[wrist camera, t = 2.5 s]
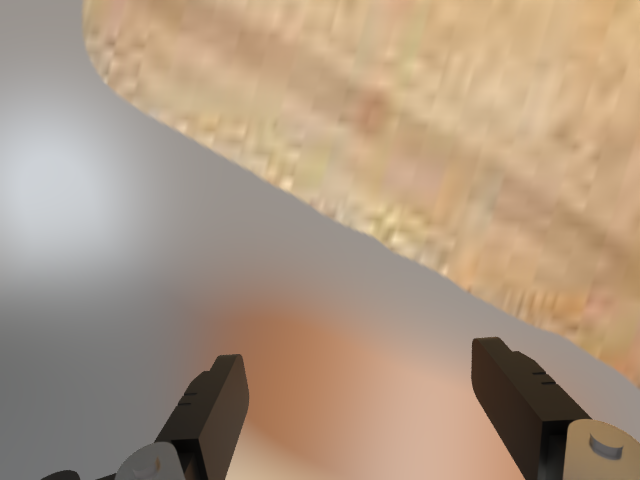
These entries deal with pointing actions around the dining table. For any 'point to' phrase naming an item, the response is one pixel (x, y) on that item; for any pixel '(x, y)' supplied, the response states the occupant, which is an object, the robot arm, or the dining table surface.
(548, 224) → the dining table surface
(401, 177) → the dining table surface
